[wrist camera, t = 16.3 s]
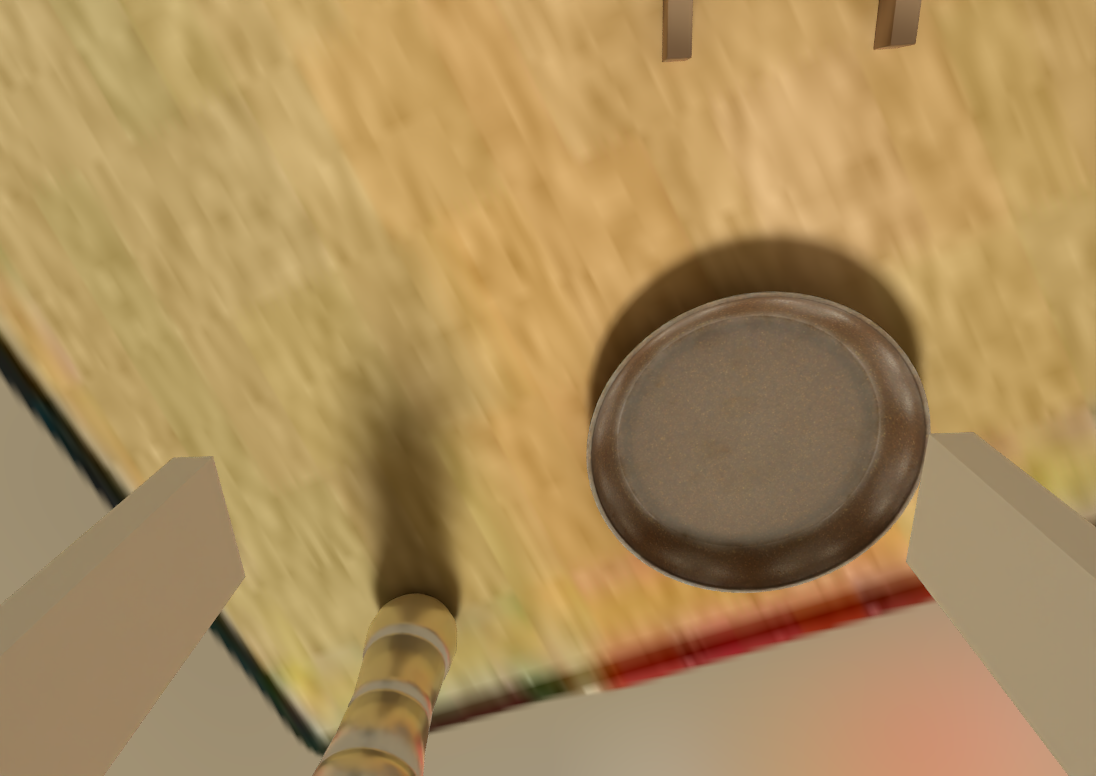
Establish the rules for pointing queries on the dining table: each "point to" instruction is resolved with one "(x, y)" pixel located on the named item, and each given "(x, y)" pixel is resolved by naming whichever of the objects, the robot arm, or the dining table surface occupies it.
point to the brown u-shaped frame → (891, 32)
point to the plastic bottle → (394, 691)
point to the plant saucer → (758, 442)
